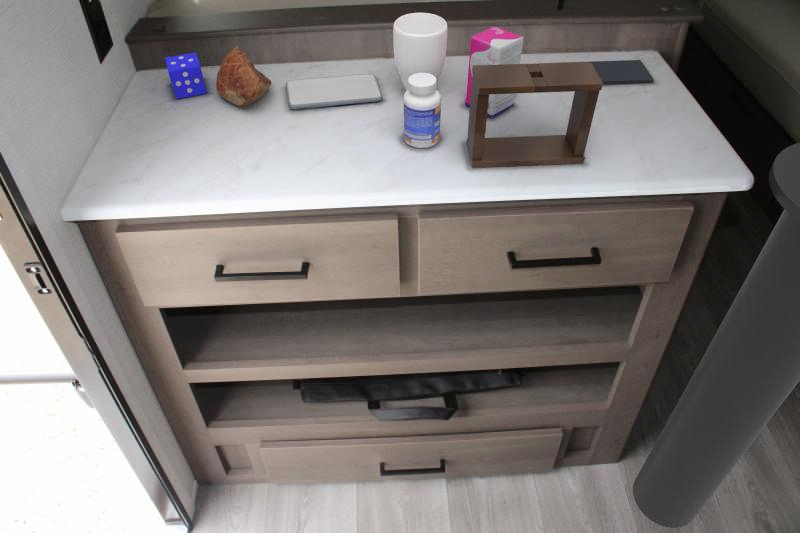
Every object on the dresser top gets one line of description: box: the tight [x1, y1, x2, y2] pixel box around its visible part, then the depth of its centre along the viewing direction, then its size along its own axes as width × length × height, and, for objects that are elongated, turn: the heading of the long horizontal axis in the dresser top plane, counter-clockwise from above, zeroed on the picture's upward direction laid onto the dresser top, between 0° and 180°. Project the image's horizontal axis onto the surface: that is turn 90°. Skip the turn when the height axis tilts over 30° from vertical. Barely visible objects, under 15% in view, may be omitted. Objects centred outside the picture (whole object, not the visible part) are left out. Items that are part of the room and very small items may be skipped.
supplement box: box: [464, 25, 524, 119], centre depth 97 cm, size 6×6×12 cm
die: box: [164, 52, 208, 100], centre depth 103 cm, size 5×5×5 cm
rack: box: [465, 61, 604, 169], centre depth 87 cm, size 16×6×12 cm, turn 93°
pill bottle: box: [402, 73, 442, 149], centre depth 91 cm, size 5×5×10 cm
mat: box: [590, 59, 655, 85], centre depth 108 cm, size 16×7×1 cm, turn 93°
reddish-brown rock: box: [215, 45, 272, 107], centre depth 101 cm, size 13×8×10 cm
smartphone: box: [285, 73, 383, 110], centre depth 103 cm, size 8×1×15 cm
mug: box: [392, 12, 448, 92], centre depth 102 cm, size 12×8×11 cm
